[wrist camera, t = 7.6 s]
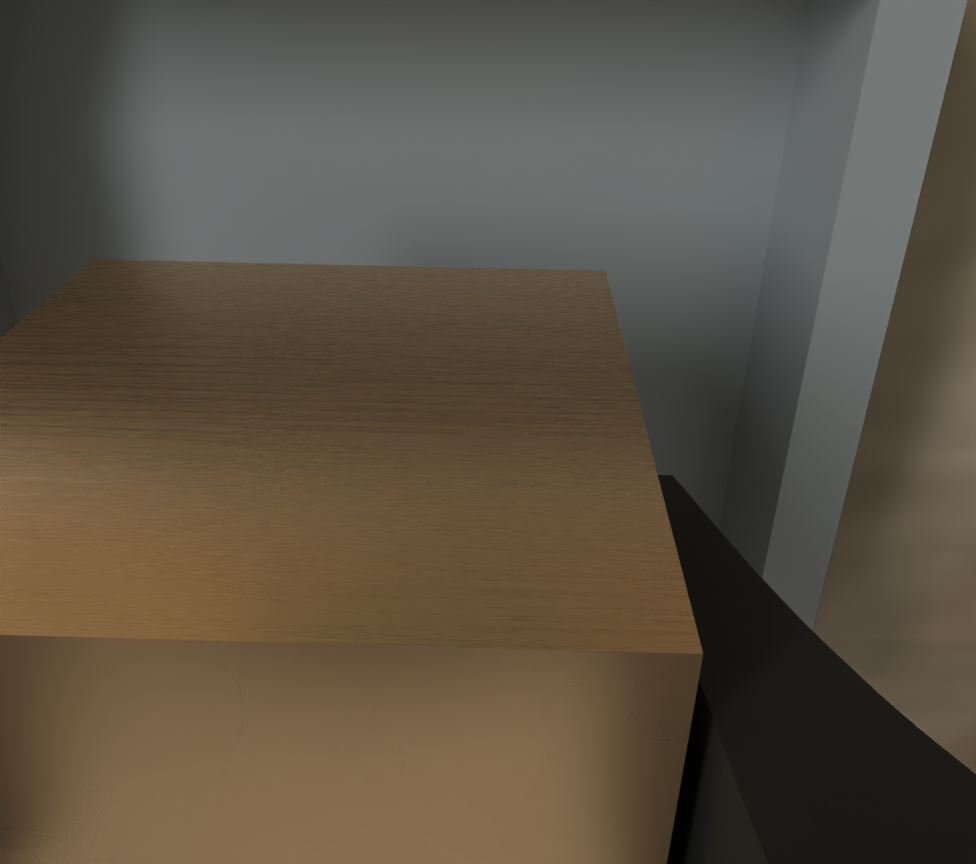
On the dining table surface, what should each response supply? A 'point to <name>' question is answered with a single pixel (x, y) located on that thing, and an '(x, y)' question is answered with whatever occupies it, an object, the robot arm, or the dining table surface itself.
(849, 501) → the dining table surface
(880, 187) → the tote
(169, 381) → the brown box
